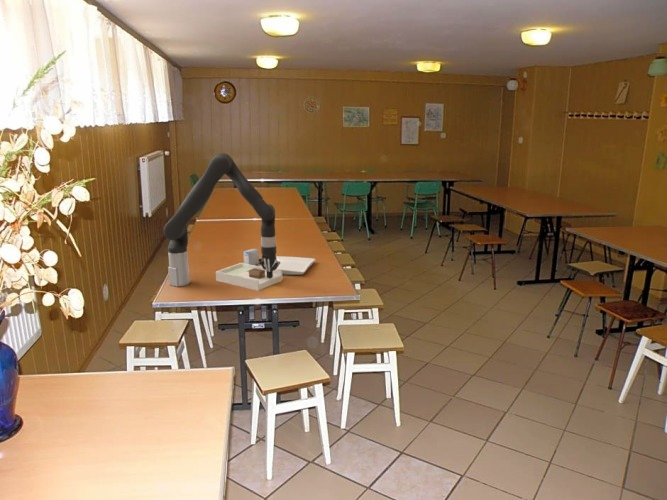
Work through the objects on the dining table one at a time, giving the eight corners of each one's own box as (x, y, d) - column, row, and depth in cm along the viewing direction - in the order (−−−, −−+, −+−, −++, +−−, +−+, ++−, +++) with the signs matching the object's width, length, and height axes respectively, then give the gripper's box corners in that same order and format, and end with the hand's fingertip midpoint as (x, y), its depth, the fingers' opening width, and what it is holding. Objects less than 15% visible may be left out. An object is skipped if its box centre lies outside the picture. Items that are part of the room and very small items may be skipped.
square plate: (304, 278, 276) (304, 271, 275) (255, 275, 282) (255, 268, 281) (316, 263, 302) (316, 257, 301) (271, 261, 307) (271, 255, 306)
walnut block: (259, 279, 265) (259, 272, 264) (249, 276, 268) (248, 270, 267) (265, 276, 268) (264, 270, 267) (254, 274, 272) (254, 268, 271)
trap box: (258, 290, 256) (257, 281, 255) (216, 280, 272) (215, 271, 271) (282, 280, 272) (282, 271, 271) (241, 271, 287) (241, 262, 286)
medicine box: (254, 262, 304) (253, 248, 302) (259, 264, 301) (258, 249, 299) (243, 265, 298) (243, 251, 296) (249, 267, 295) (248, 252, 293)
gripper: (253, 244, 259) (255, 277, 264) (273, 248, 252) (275, 282, 257) (263, 241, 265) (264, 273, 270) (283, 245, 258) (284, 278, 263)
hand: (269, 277), depth 263 cm, fingers closed
